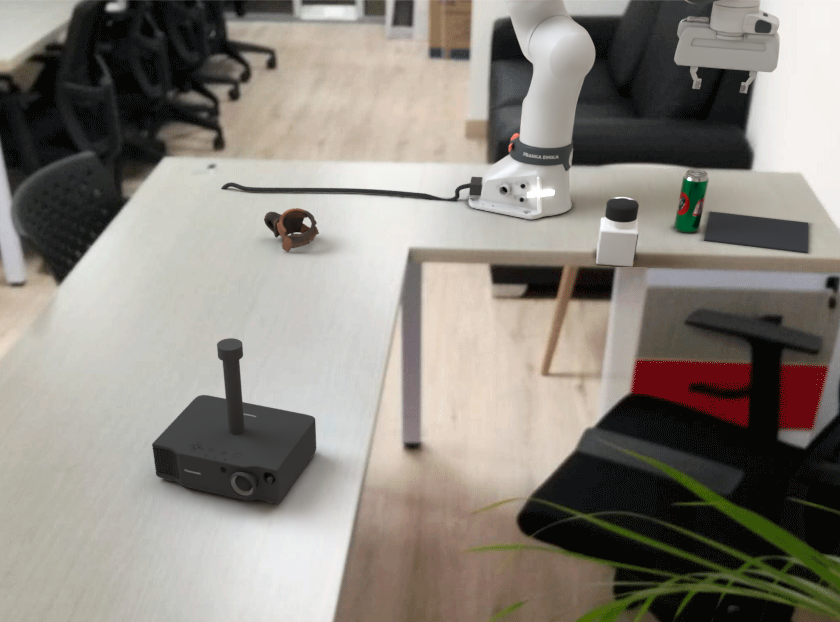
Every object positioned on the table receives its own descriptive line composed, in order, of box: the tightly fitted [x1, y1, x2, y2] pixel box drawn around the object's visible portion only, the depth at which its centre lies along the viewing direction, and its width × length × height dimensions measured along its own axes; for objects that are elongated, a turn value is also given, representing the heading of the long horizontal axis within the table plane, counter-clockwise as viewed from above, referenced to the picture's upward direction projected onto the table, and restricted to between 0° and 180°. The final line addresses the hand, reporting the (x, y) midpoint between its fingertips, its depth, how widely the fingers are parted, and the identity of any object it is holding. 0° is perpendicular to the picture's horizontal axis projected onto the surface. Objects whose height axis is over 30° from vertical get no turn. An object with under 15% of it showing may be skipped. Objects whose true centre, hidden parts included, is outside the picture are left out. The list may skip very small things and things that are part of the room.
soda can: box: [674, 168, 709, 234], centre depth 222 cm, size 5×5×12 cm
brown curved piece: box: [263, 207, 320, 253], centre depth 220 cm, size 12×10×8 cm
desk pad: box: [703, 211, 809, 254], centre depth 224 cm, size 20×16×1 cm
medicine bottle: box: [595, 196, 640, 268], centre depth 210 cm, size 7×7×12 cm
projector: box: [151, 337, 317, 505], centre depth 150 cm, size 19×17×20 cm
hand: (719, 90), depth 223 cm, fingers open, 8 cm apart
